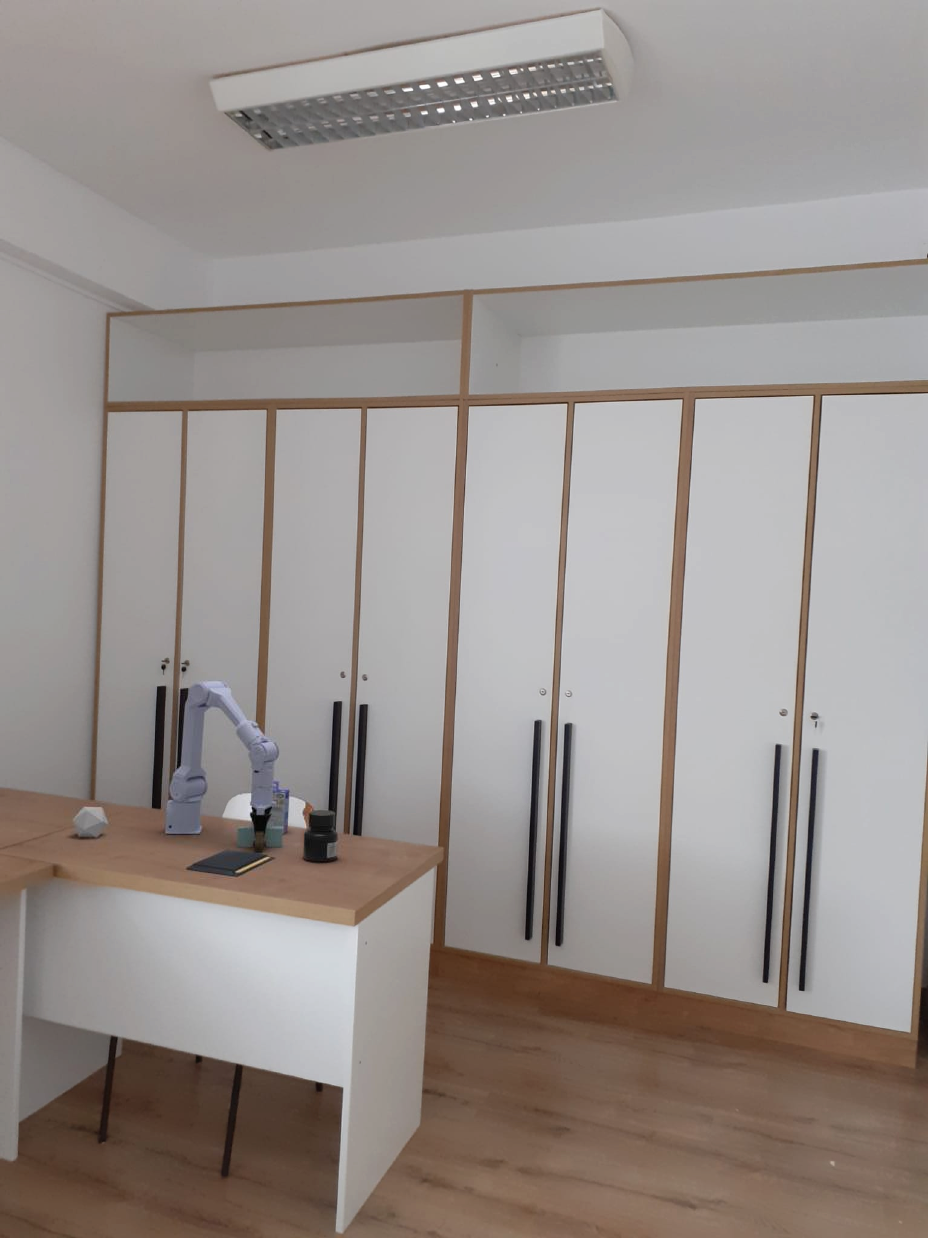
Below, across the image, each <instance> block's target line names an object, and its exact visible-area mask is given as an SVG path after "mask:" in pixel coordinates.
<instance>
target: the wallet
mask: <svg viewBox="0 0 928 1238" xmlns="http://www.w3.org/2000/svg"><path fill="white" fill-rule="evenodd" d="M272 860H276V857H274V856H269V855H268V854H264V853H255V852H252V851H246V850H245V851H244V850H239V849H238V850H237V849H230V848H229V849H228V848H227V849H225V850H222V851H220V852H218V853H215V854H213V855H211V856H209V857H206V858H204V859H201V860H199V861H196V862H194V863H192V864H191V865H189V866H187V867H186V868H185V870H187V871H190V872H191V871H192V872H200V873H207V874H213V875H219V876H220V875H221V876H227V877H234V878H238V877H240V876H242V875H245V874H246V873H248V872H250V871H253V870H254V869H256V868H259V867H260V866H262V865H264V864H267V863H268V862H271V861H272Z"/></svg>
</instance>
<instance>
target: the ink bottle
mask: <svg viewBox="0 0 928 1238" xmlns="http://www.w3.org/2000/svg"><path fill="white" fill-rule="evenodd" d="M335 824H336V812H335V811H333V810H327V809H325V810H324V809H318V810H317V809H316V810H311V811H309V812H308V829H307V830H306V831H305V832H304V835H303V850H302V851H303V852H302V853H303V854H302V857H303V858H304V860H306V861H309V862H314V863H324V862H332V861H335V860H336V859H337V858H338V846H339V844H338V843H339V834H338V831H336V830H335V829H334V828H335Z"/></svg>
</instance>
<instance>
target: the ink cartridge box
mask: <svg viewBox="0 0 928 1238" xmlns="http://www.w3.org/2000/svg"><path fill="white" fill-rule="evenodd" d="M274 785H275V786H274ZM279 785H280V781H278V780H277V781H275V780H273V798H272V801H275V802H277V804H276V805H272V809H271V811H270V813H269V814H271V817H270V819H269V821H268V823H267V826H280V827H283V835H284V834H285V833H287V832H288V831H289V830H288V829H289V811H290V809H289V807H290V789H285V788H283V789H282V788H279V787H280V786H279ZM251 812H253V811H252V810H251ZM250 824H251V825H250V826H254V825H253V821H252V820H251V823H250Z"/></svg>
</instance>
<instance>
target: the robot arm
mask: <svg viewBox="0 0 928 1238" xmlns="http://www.w3.org/2000/svg"><path fill="white" fill-rule="evenodd" d="M187 693H188V694H187V700H186V701H185V704H184V712H183V713H184V715H183V729H182V743H181V758H180V759H181V760H180V761H181V762H180V766H179V767H178V768H177V769H176V771H174V772H173V774H172V779H171V782H170V784H169V787H168V788H169V790H168V791H169V794H170V797H171V799H169V800H168V801H167V802H166V803H167V804H166V809H165V811H166V812H165V821H164V823H165V825H164V826H165V830H164V834H166V835H173V834H174V835H175V834H176V835H200V834H201V831H202V830H203V825H201V814H202V813H201V812H202V811H201V810H202V808H201V807H202V800H203V799H204V796H205V794H206V793H207V791H208V787H209V786H208V780H207V771H206V770H205V769H204V768H203V767H202V754H203V753H202V752H203V739H204V737H203V736H204V724H205V723H204V722H205V713H206V712H207V711H208V710H209V709H211V708H212V707H213V708H218V709H220V710H221V711H222V713H223V714H224V716H226V717H227V718H228V720H230V722H231V723H232V724H233V725H234V726H235V727H236V731H235V734H236V735H237V737H238V738H239V740H240V741H241V742H242V744H243V745H244V747H245V748H246V749H247V750H248V759H249V761H250V763H251V765H250V766H251V769H252V771H251V772H252V775H251V791H250V792H251V796H250V797H251V798H250V801H249V805H250V806H251V808H250V809H251V811H250V812H249V816H250V819H251V821H253V825H254V832H255V836H256V831H264V835H263V839H264V836H265V831H266V826H267V823H268V821H269V819H270V817H271V814H269V813H270V811H271V809H272V805H276V804H277V802H275V801H272V798H273V786H274V783H273V781H274V772H275V761H276V760H277V759H278V758H279V756H280V755H279V754H280V749H279V746H278V744H277V743H276V742H275V741H274V740H272V739H271V740H270V739H269V738H268V737H267V736H266V735H264V733H263V732H262V730H261V729H260V728H259V724H258V723H257V722H256V721H254V720H248V719H247V717H246V716H245V715H244V713H243V711H242V710H241V708H240V707H239V705H238V704H237V702H236V701H235V699H234V697H233V696H232V689H231V688H230V687H229V686H228V684H227V682H225V681H223V680H213V681H212V680H211V681H210V680H209V681H195V682H194V683H193V684H192V685H190V686H189V687H188V690H187ZM252 811H253V812H252Z"/></svg>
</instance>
